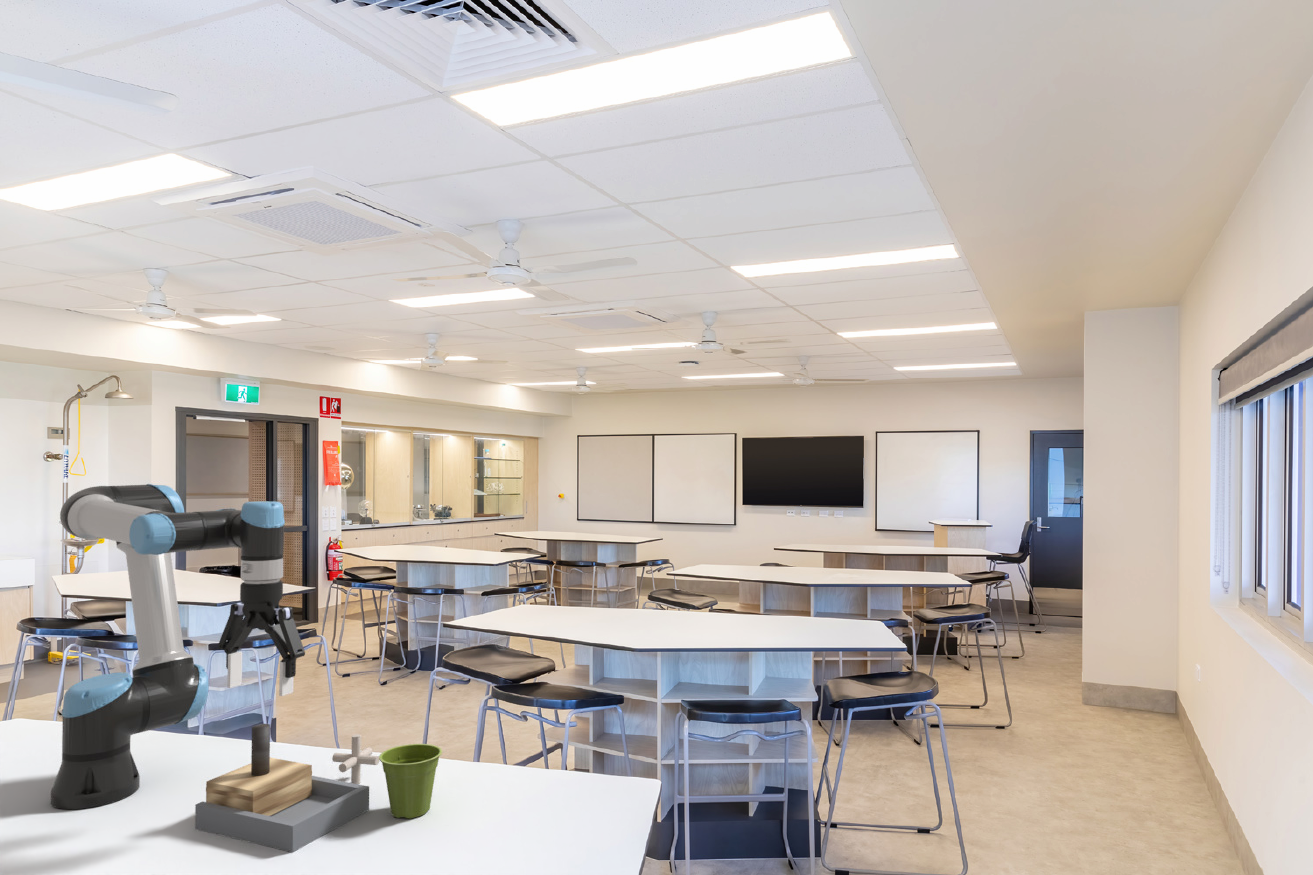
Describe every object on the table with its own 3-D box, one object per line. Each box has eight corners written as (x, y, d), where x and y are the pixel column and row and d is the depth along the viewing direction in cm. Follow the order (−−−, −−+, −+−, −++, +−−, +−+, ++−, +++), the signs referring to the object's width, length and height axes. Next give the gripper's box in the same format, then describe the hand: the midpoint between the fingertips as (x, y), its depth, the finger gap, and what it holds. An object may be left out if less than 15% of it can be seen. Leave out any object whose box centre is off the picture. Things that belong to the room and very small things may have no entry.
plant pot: (454, 805, 164) (454, 748, 164) (410, 829, 153) (411, 768, 154) (410, 794, 169) (410, 739, 170) (365, 816, 159) (365, 757, 159)
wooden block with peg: (205, 813, 156) (206, 733, 156) (266, 786, 169) (267, 712, 170) (252, 824, 151) (253, 741, 152) (311, 795, 164) (312, 719, 165)
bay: (195, 828, 154) (195, 804, 154) (277, 790, 171) (277, 769, 171) (292, 852, 144) (292, 826, 145) (369, 809, 162) (369, 786, 162)
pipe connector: (364, 794, 169) (364, 745, 170) (320, 790, 171) (321, 741, 172) (389, 775, 179) (389, 729, 180) (347, 772, 181) (348, 726, 182)
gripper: (199, 579, 163) (197, 687, 162) (295, 587, 153) (293, 702, 153) (231, 574, 170) (230, 678, 169) (325, 582, 160) (323, 692, 160)
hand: (260, 690), depth 161 cm, fingers open, 13 cm apart
